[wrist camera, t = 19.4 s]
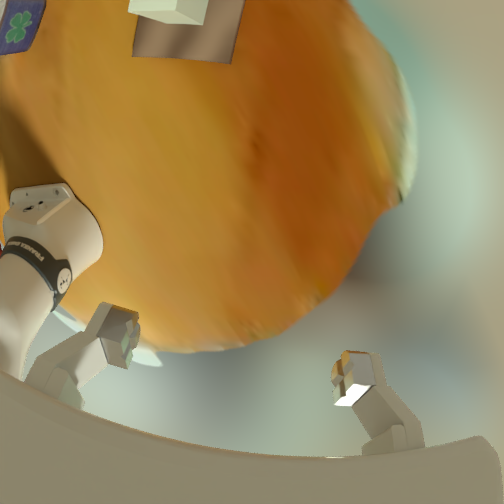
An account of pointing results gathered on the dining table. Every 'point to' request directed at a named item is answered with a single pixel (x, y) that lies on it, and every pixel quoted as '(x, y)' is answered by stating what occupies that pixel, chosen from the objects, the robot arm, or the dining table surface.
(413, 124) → the dining table surface
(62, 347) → the robot arm
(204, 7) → the cabinet block
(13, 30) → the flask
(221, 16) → the display stand
